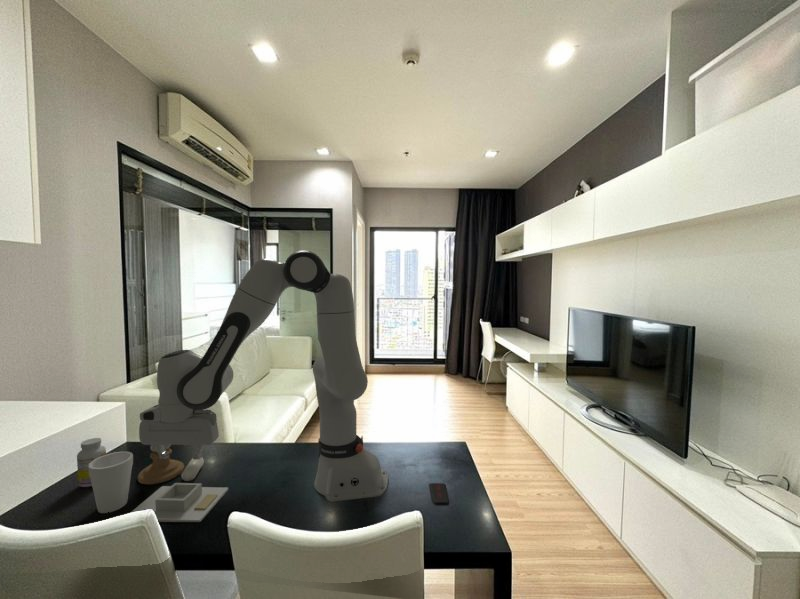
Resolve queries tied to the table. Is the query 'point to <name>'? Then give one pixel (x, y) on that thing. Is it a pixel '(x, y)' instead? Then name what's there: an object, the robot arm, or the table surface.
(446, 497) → the dark rectangular block
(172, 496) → the board
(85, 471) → the supplement bottle
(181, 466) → the candle holder
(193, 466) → the white capsule
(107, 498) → the foam cup
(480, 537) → the table surface
